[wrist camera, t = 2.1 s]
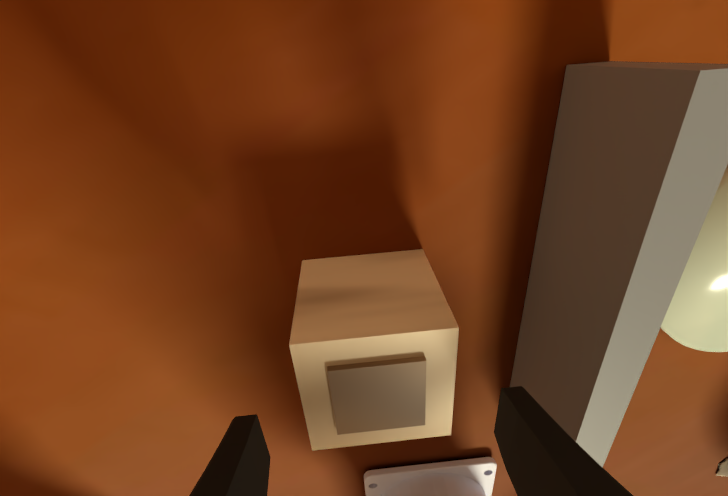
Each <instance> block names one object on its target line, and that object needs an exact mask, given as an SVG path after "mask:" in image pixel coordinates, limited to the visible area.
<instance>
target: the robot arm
mask: <svg viewBox="0 0 728 496" xmlns="http://www.w3.org/2000/svg"><path fill="white" fill-rule="evenodd" d="M494 434H495V437H496V440H497V443H498V446H499V449H500V452H501V455H502V458H503V461H504V464H505V467H506V470H507V472H508V475H509V477H510V479H511V481H512V484H513V486H514V488H515V490H516V493H517V495H518V496H633V495H632V494H631V493H630V492H629V491H627V490H626V489H625V488H624V487H623V486H622V485H621V484H620V483H619V482H618V481H616V480H615V479H614V478H613V477H612V476H611V475H610V474H609V473H608V472H607V471H606V470H604V469H603V468H602V467H601V466H600V465H599V464H598V463H597V462H596V461H595V460H594V459H593V458H592V457H591V456H590V455H589V454H588V453H587V452H586V451H585V450H584V449H583V448H582V447H581V446H580V445H579V444H578V443H576V442H575V441H574V440H573V439H572V438H571V437H570V436H569V435H568V434H567V433H566V432H565V431H564V429H563V428H562V427H561V426H560V425H559V424H558V423H557V422H556V421H555V420H554V419H553V418H552V417H551V416H550V415H549V414H548V413H547V412H546V411H545V410H544V409H543V408H542V407H541V405H540V404H539V403H538V402H537V401H536V400H535V399H534V398H533V397H532V396H531V395H530V394H529V393H528V392H527V391H526V389H525V388H523V387H522V386H517V387H508V388H501V393H500V399H499V405H498V411H497V417H496V423H495V429H494ZM269 467H270V455H269V451H268V448H267V445H266V442H265V439H264V436H263V432H262V429H261V426H260V423H259V420H258V417H257V415H247V416H238V417H235V418H234V419H233V420H232V422H231V424H230V426H229V428H228V430H227V432H226V433H225V435H224V437H223V439H222V441H221V443H220V444H219V446H218V448H217V450H216V452H215V453H214V455H213V457H212V459H211V460H210V462H209V464H208V466H207V467H206V469H205V471H204V472H203V474H202V476H201V477H200V479H199V481H198V482H197V484H196V486H195V487H194V489H193V491H192V492H191V494H190V495H189V496H267V489H268V479H269ZM496 468H497V464H496V462H495V459H494V458H492V457H482V458H473V459H464V460H455V461H446V462H437V463H428V464H419V465H411V466H402V467H393V468H384V469H375V470H369V471H367V472H366V473H365V474H364V485H365V494H366V496H492V490H493V485H494V479H495V474H496Z"/></svg>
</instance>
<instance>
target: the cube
mask: <svg viewBox="0 0 728 496" xmlns="http://www.w3.org/2000/svg"><path fill="white" fill-rule="evenodd" d="M458 334H459V327H458V324H457V322H456V320H455V318H454V316H453V313H452V311H451V309H450V307H449V305H448V303H447V300H446V298H445V296H444V294H443V292H442V290H441V287H440V285H439V283H438V281H437V279H436V276H435V274H434V272H433V270H432V268H431V266H430V263H429V261H428V259H427V257H426V255H425V253H424V250H423V249H418V250H407V251H396V252H386V253H375V254H364V255H354V256H343V257H332V258H322V259H311V260H302V264H301V271H300V277H299V284H298V290H297V297H296V303H295V310H294V316H293V323H292V329H291V336H290V342H289V347H290V352H291V356H292V361H293V365H294V370H295V374H296V379H297V383H298V388H299V393H300V397H301V402H302V406H303V411H304V415H305V420H306V425H307V429H308V434H309V438H310V443H311V447H312V451H314V450H323V449H332V448H340V447H349V446H358V445H367V444H376V443H385V442H394V441H403V440H412V439H421V438H430V437H439V436H447V435H451V429H452V415H453V402H454V388H455V375H456V361H457V347H458Z"/></svg>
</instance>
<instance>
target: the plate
mask: <svg viewBox="0 0 728 496" xmlns="http://www.w3.org/2000/svg"><path fill="white" fill-rule="evenodd" d="M660 328H661V329H662V330H663V331H665V332H666V333H667V334H668V335H669V336H671V337H672V338H673V339H674V340H675V341H677V342H679V343H681V344H682V345H684V346H687V347H690V348H693V349H696V350H702V351H709V352H728V165H727V167H726V170H725V172H724V175H723V177H722V179H721V182H720V184H719V187H718V189H717V191H716V194H715V196H714V199H713V201H712V204H711V206H710V208H709V211H708V213H707V216H706V218H705V221H704V223H703V225H702V228H701V230H700V233H699V235H698V237H697V240H696V242H695V245H694V247H693V250H692V252H691V254H690V257H689V259H688V262H687V264H686V267H685V269H684V271H683V274H682V276H681V279H680V281H679V283H678V286H677V288H676V291H675V293H674V296H673V298H672V300H671V303H670V305H669V308H668V310H667V313H666V315H665V317H664V320H663V322H662V325H661V327H660Z"/></svg>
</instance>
